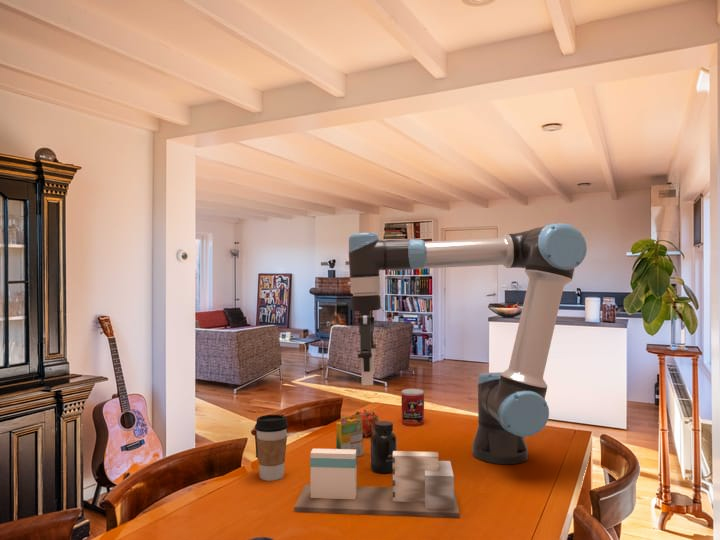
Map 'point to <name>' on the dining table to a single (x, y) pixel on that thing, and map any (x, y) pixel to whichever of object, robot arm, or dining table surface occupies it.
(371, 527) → the dining table surface
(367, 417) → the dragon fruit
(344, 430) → the crayon box
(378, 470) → the supplement bottle
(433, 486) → the stepped block stand
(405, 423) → the canned food
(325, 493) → the blue-striped white box
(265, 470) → the coffee cup
